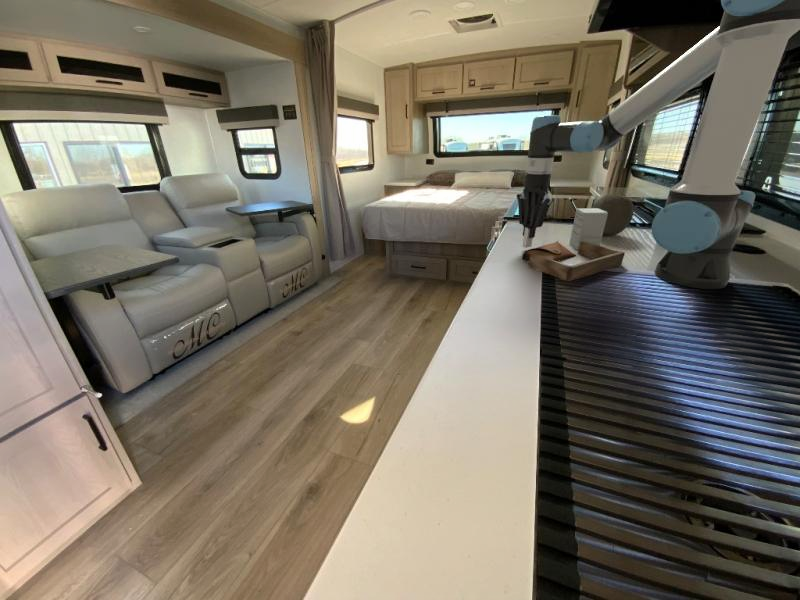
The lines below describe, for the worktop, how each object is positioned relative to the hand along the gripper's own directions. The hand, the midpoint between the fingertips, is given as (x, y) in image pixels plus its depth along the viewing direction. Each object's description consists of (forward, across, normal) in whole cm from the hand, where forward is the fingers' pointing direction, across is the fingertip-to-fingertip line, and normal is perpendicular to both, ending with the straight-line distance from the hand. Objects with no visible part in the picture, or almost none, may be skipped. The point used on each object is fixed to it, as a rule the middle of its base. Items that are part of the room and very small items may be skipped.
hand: (526, 246), depth 112 cm
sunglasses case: (+2, +9, 0) cm, 10 cm away
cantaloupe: (+2, +3, +40) cm, 40 cm away
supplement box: (+2, +8, +19) cm, 21 cm away
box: (+1, +18, 0) cm, 18 cm away
